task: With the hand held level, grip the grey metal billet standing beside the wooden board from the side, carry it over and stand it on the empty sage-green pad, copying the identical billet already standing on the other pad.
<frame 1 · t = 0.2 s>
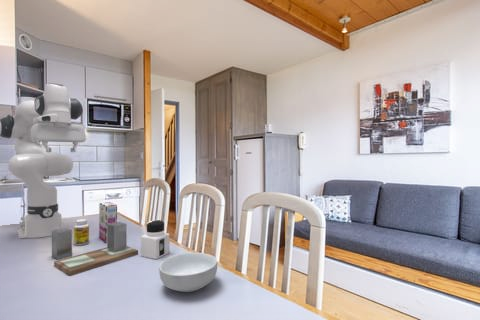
hand: (61, 152, 116), 40 cm above the table, tool pointing down, fingers open, 8 cm apart
candy bar box: (108, 239, 123), on the table
container: (155, 255, 104), on the table
cereal bowl: (188, 286, 80), on the table
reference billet: (116, 249, 104), resting on wooden board
loose billet: (61, 256, 102), on the table
supplement bottle: (81, 244, 116), on the table
wooden board: (98, 259, 99), on the table
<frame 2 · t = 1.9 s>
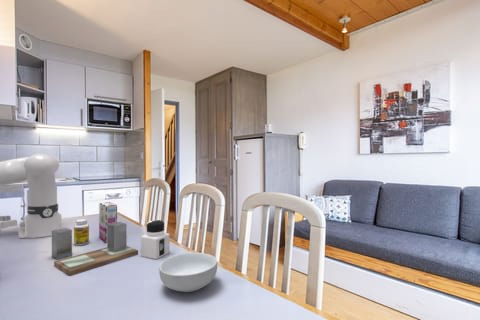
hand: (13, 220, 90), 16 cm above the table, tool horizontal, fingers open, 8 cm apart
nothing on the table moved.
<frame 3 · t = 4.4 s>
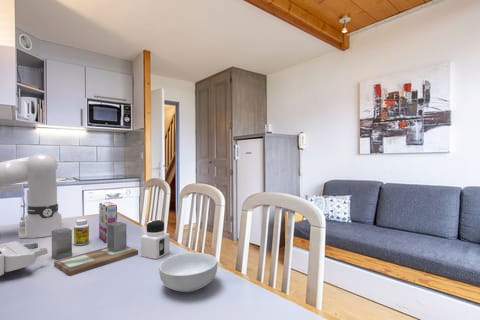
hand: (42, 247, 96), 5 cm above the table, tool horizontal, fingers open, 8 cm apart
nothing on the table moved.
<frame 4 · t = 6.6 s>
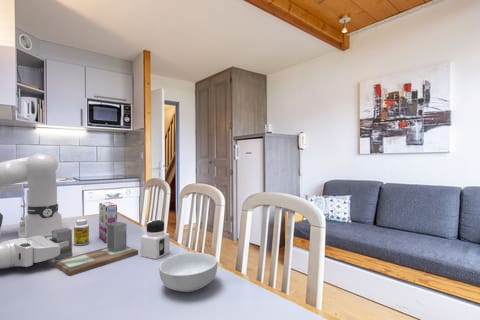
hand: (64, 241, 102), 6 cm above the table, tool horizontal, fingers closed on loose billet, 5 cm apart
loose billet: (61, 256, 102), on the table, touching gripper
everything else where it was.
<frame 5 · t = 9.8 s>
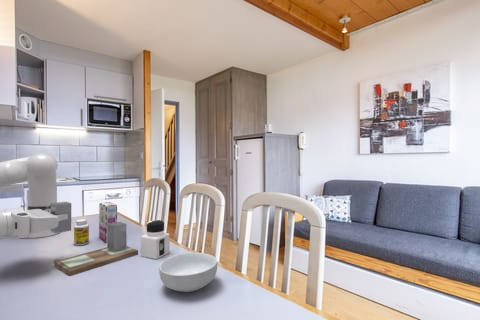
hand: (63, 215, 98), 16 cm above the table, tool horizontal, fingers closed on loose billet, 5 cm apart
loose billet: (60, 230, 98), point 11 cm above the table, touching gripper
everything else where it was.
when the fingers open (8 cm above the table, at t = 13.0 s): loose billet drops 1 cm, resting on wooden board.
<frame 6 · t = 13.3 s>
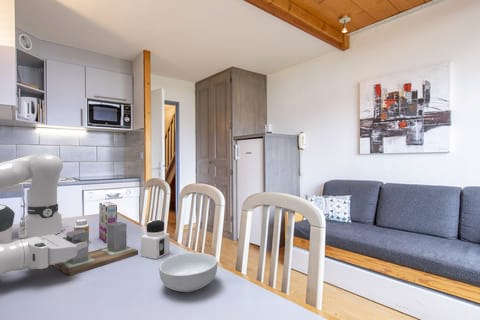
hand: (80, 240, 94), 8 cm above the table, tool horizontal, fingers open, 8 cm apart
loose billet: (77, 260, 93), point 2 cm above the table, touching wooden board
everything else where it was.
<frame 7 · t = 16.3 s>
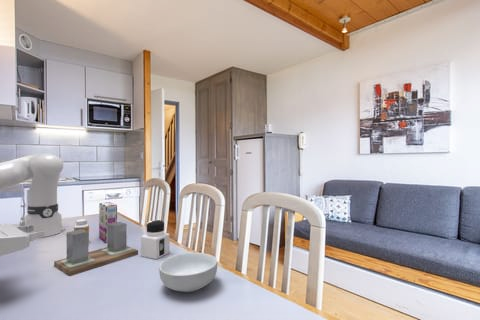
hand: (38, 230, 83), 15 cm above the table, tool horizontal, fingers open, 8 cm apart
nothing on the table moved.
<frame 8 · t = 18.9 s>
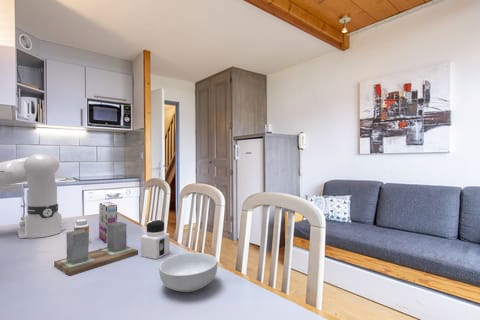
hand: (8, 173, 90), 32 cm above the table, tool horizontal, fingers open, 8 cm apart
nothing on the table moved.
at the end: loose billet 0.1 cm from the target spot on the wooden board, point 1.8 cm above the wooden board's base; loose billet tilted 0°; the gripper is holding nothing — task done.
